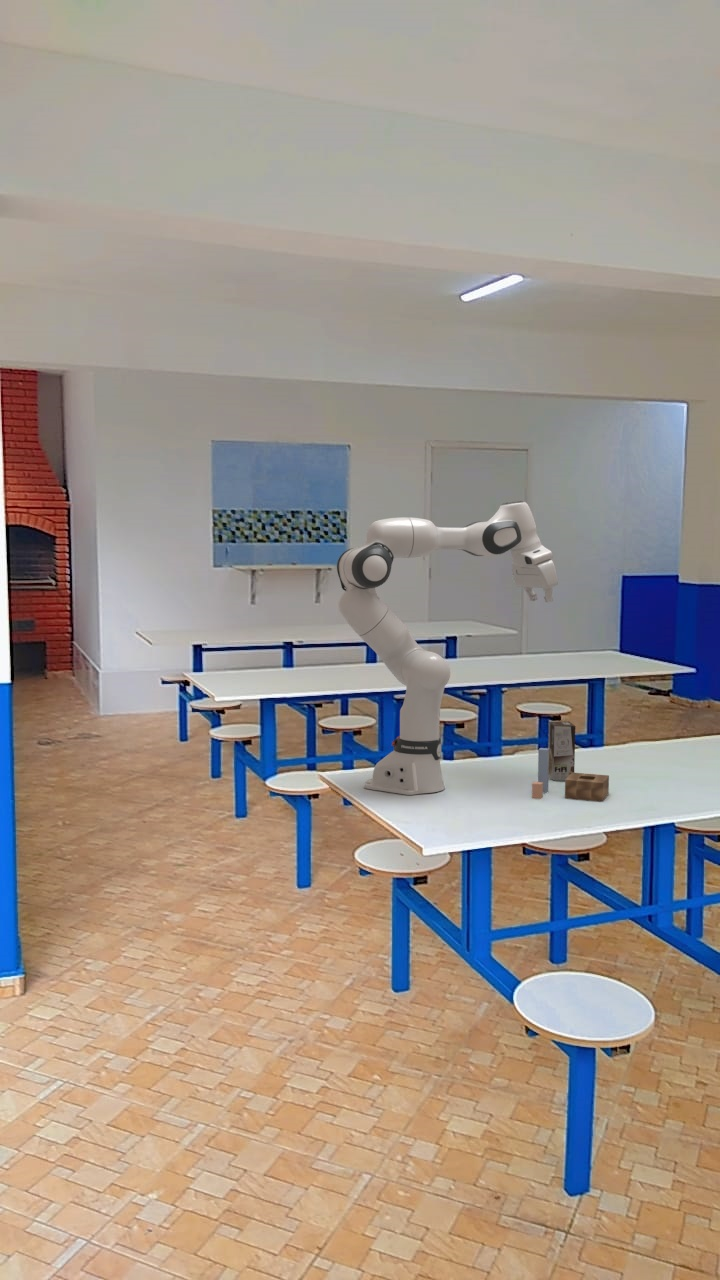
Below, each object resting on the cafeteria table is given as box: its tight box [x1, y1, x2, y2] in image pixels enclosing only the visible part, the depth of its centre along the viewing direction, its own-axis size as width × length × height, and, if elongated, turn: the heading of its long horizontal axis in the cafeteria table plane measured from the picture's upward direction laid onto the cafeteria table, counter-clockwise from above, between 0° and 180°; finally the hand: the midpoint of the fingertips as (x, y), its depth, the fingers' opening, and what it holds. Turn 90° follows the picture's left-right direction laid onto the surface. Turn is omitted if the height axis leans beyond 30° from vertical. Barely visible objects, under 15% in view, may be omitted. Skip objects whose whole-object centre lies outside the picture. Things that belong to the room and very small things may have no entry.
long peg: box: [537, 747, 550, 794], centre depth 277 cm, size 2×2×12 cm
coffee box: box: [548, 721, 576, 782], centre depth 295 cm, size 9×6×16 cm
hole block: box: [564, 772, 610, 803], centre depth 273 cm, size 10×10×5 cm
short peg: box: [531, 781, 544, 800], centre depth 271 cm, size 2×2×4 cm
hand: (541, 601), depth 289 cm, fingers open, 8 cm apart
